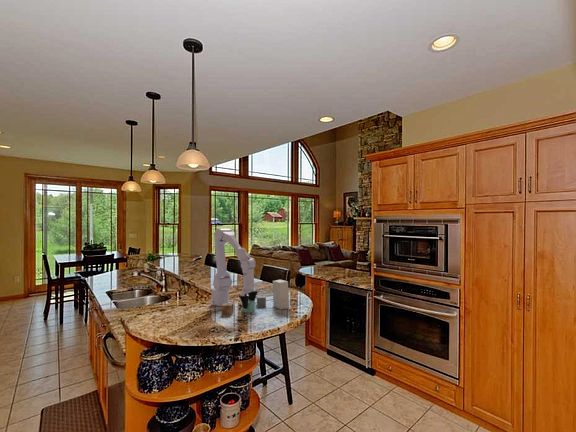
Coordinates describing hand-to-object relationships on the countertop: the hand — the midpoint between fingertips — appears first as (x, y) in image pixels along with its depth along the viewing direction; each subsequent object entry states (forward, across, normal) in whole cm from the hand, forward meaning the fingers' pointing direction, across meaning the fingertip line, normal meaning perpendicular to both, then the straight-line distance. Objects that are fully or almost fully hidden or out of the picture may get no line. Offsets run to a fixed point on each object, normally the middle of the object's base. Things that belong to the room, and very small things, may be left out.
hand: (248, 306), depth 161 cm
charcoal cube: (+2, +12, -2) cm, 12 cm away
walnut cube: (+2, -8, +8) cm, 12 cm away
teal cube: (+2, 0, 0) cm, 2 cm away
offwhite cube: (+2, +11, +7) cm, 13 cm away
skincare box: (+3, +12, -14) cm, 19 cm away
